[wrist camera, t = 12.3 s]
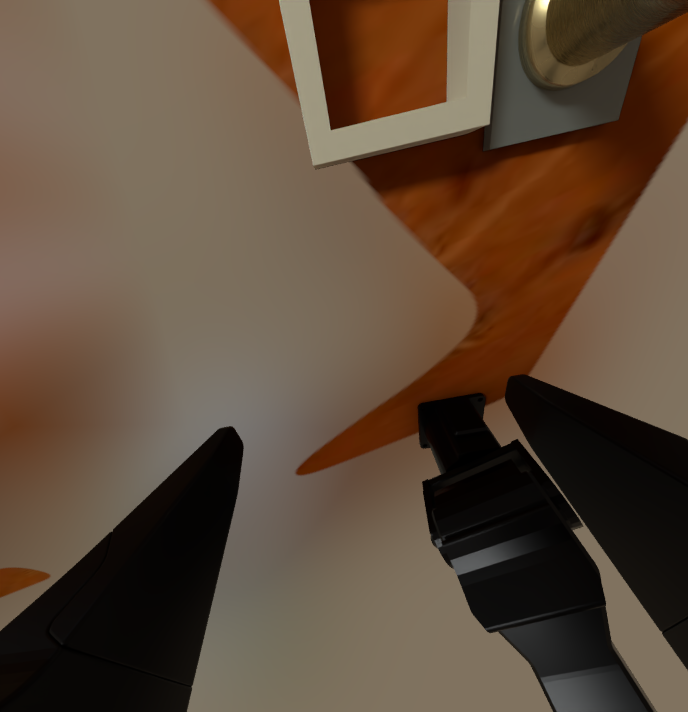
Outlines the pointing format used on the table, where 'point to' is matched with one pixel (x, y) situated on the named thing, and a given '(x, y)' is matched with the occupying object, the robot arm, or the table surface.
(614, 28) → the light bulb
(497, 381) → the table surface
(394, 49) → the table surface
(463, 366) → the table surface
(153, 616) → the robot arm
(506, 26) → the slate pad
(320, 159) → the socket
